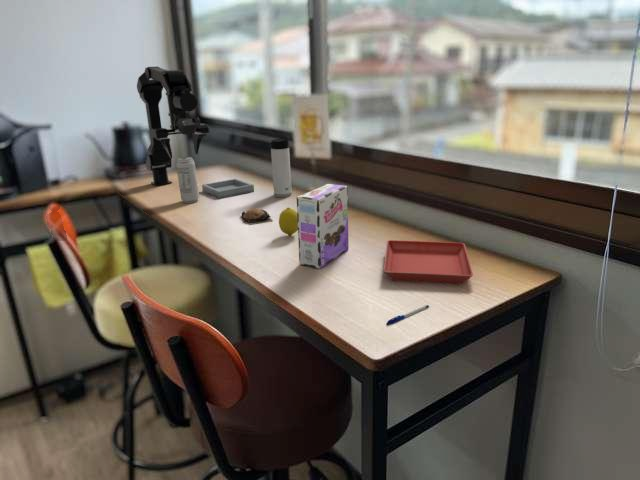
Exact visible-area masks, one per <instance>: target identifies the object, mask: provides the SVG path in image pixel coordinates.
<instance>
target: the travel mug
mask: <svg viewBox="0 0 640 480" xmlns="http://www.w3.org/2000/svg"><path fill="white" fill-rule="evenodd" d="M290 139H291V138H290V137H281V138H276V139H273V140H271V141H270V155H271V156H270V157H271V168H272V170H271V171H272V172H271V173H272V183H273V196H274V197H276V198H287V197H290V196H292V194H293V193H292V175H291V159H290V158H291V156H290V144H289V141H290Z"/></svg>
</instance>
